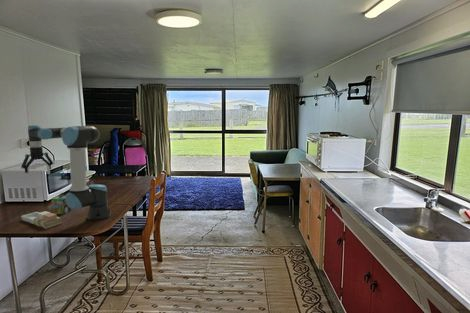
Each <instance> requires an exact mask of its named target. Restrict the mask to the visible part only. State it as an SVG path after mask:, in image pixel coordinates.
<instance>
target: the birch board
mask: <svg viewBox="0 0 470 313" xmlns="http://www.w3.org/2000/svg"><path fill="white" fill-rule="evenodd" d="M62 221H63V220H62V217H60V216H57V219H55V220H52V221H47V220H44V219H41V218H34V224H33V225H34V226H37V227H40V228H43V229H46V230H47V229H50V228H52V227H55V226H59V225H62V224H63V222H62Z"/></svg>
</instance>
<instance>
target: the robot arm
mask: <svg viewBox="0 0 470 313" xmlns="http://www.w3.org/2000/svg"><path fill="white" fill-rule="evenodd" d="M27 135H28V144H29V150H30V151H29V152H30V154H28V153H26V154H25V155H24V156H25V157H24V159H23V162H22V164H21V166H20V168H22V169H24V173H25V174H26V177H27V178H30V177H31V176H30V168H29V166H31V164H32V163H33V162H34V161H37V160H42V161H43V162H44V163H45V164H46V171H47V172H46V173H47V175H51V169H52V167H51V166H52V165H53V164H54V162H53V160H52V159H51V157H50V156H49V153H48V152H47V151H46V152H45V151H43V143H42V142H43V140H50V139H51V140H52V139H61V141H62V142H63V144H64V145H65V146H66V148H67V149H68V150H69V156H70V158H69V160H70V162H69V163H70V176H71V177H70V179H71V186H70V188H69V189H68V193H66V194H65V195H64V196H65V200H66V203H67V205H68V206H69V207H70V208H71V210H78V209H79V210H80V209H82V208H86V207H89V208H88V212H87V215H86V216H87V219H88V220H89V221H101V220H105V219H109V218H110V217H111V216H112V212H111V209H110V207H109V203H108V189H107V186H106V185H105V184H96V183H95V184H89V185H87V168H86V164H87V163H86V149H88V144H93V143H95V142H97V141H98V140H99V139H100V136H101V134H100V130H99V129H98V128H97V127H96V126H92V125H72V126H67V127H50V128H48V127H47V128H46V127H45V128H44V127H43V128H41V126H40V125H38V124H37V125H33V124H32V125H28V126H27Z"/></svg>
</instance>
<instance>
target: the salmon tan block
mask: <svg viewBox="0 0 470 313" xmlns="http://www.w3.org/2000/svg"><path fill="white" fill-rule="evenodd" d="M57 217H58V214H53V213H52V212H50V213H49V214H46V215H44V220H47V221H52V220H55V219H57Z"/></svg>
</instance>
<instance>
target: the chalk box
mask: <svg viewBox="0 0 470 313" xmlns="http://www.w3.org/2000/svg"><path fill="white" fill-rule="evenodd" d="M65 196H66V195H64V192H61V193H59V195H56V196H55V197H53V198H52V199H50V202H51V213H53V214H57V215H65V214H67V213H69V212H71V211H72V209H71V208H70V207H69V206H68V205H67V203H66V200H65Z"/></svg>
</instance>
